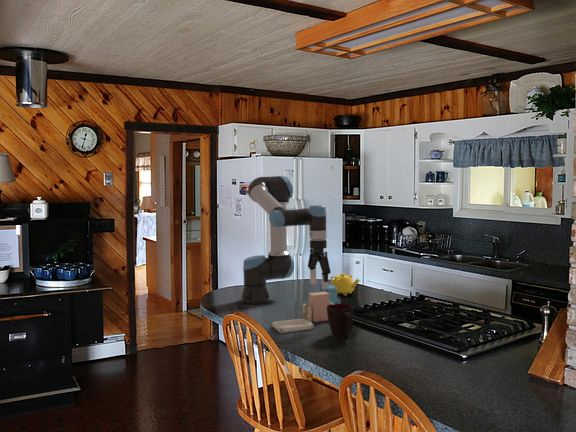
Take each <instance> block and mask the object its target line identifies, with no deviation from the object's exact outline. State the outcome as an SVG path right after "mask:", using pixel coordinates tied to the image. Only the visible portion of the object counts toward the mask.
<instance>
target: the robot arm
mask: <svg viewBox="0 0 576 432" xmlns="http://www.w3.org/2000/svg"><path fill="white" fill-rule="evenodd" d="M247 194H248V196H249V198H250V200H251V201H253V202H254V203H257V204H258V205H259V206H260V207H261V208H262V210H264V211H265V212H266V214H267V215H268V220H269V228H270V229H269V231H270V232H269V233H270V236H269V237H270V251H269V252H268V253H267V257H266V256H265V255H252V256H249V257H246V258H245V259H243V265H242V270H243V271H242V272H243V288H242V293H241V296H240V303H242V304H245V303H246V305H261V304H266V303H269V302H270V301H271V298H270V297H271V296H270V293H269V289H268V288H267V281H270V280H271V281H272V280H284V279H287V278H290V277H291V276H292V275H293V274H294V270H295V261H294V257H293V256H292V255H291V254H290V252H289V251H288V245H287V244H288V234H287V227H299V226H309V232H308V235H309V239H310V240H309V248H310V249H309V258H308V263H307V267H308V268H309V273H310V274H309V278H310V279H309V281H310V282H309V283H310V285H315V284H317V265H318V264H319V265H320V269H321V284H322V289H328V284H329V274H331V268H330V261H329V259H328V258H329V257H328V252H327V251H324V249H326V248H327V246H328V245H327V244H328V243H327V241H328V240H327V238H328V237H327V236H328V235H327V211H326V210H327V208H326V205H324V204H322V205H321V204H314V205H310V206H309V208H308V207H307V208H306V207H305V208H297V209H287V205H288V204H289V203H290V199H291V198H292V197H293V194H294V186H293V183H292V181H291V179H290V178H289V177H288V176H283V175H276V176H275V175H274V176H259V177H256V178H255V179H253V180H252V181H250V183H249V185H248V188H247Z"/></svg>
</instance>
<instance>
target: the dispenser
mask: <svg viewBox="0 0 576 432" xmlns="http://www.w3.org/2000/svg"><path fill="white" fill-rule="evenodd" d="M329 303H330V305H332V304H334V303H332V302H330V301H329ZM302 318H304V319H306V320H308V321H309V322H311V323H312V322H313V321H312V310H311V307H310V306H309V304H306V303H302ZM312 324H313V323H312Z"/></svg>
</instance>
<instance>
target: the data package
mask: <svg viewBox="0 0 576 432" xmlns="http://www.w3.org/2000/svg"><path fill="white" fill-rule="evenodd" d="M319 292H327V293H329V301H330V302H332V303H334V304H338V295H337V288H336V287H335V286H333V285H331V283H328V289H322V283H321V284H320V286H319Z"/></svg>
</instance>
